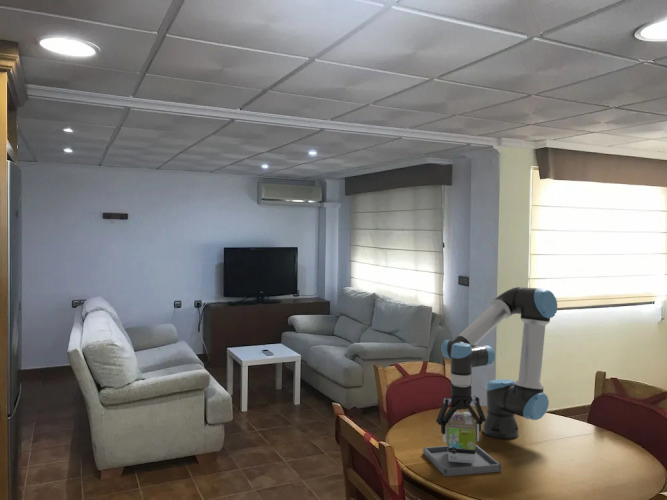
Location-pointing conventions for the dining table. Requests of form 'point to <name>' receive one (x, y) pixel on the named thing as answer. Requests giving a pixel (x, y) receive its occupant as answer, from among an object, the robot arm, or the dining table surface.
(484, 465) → the tray
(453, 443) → the tea box
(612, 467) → the dining table surface
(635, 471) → the dining table surface
